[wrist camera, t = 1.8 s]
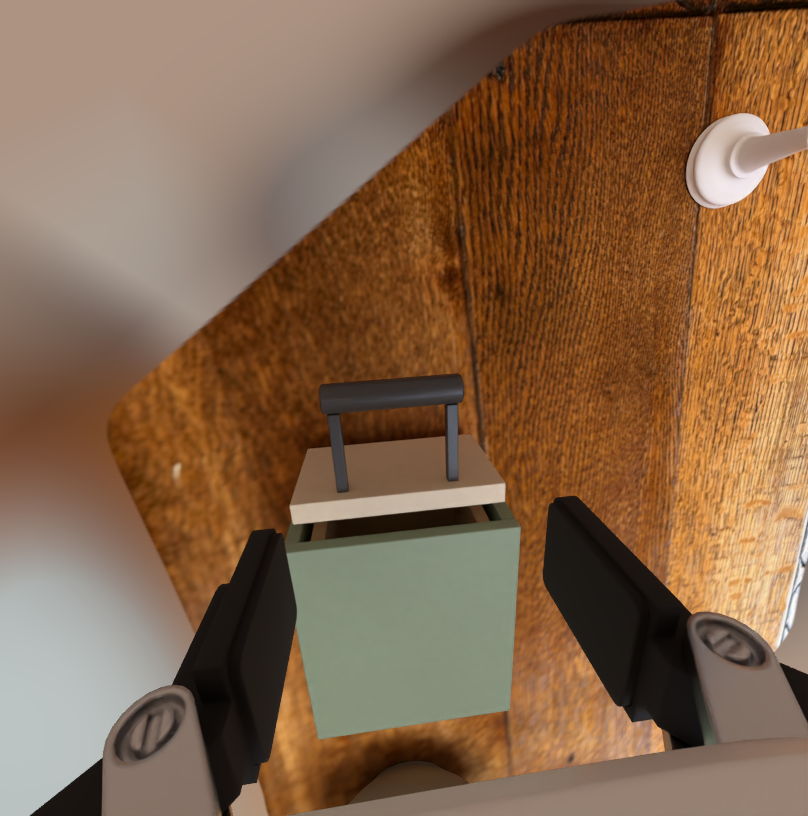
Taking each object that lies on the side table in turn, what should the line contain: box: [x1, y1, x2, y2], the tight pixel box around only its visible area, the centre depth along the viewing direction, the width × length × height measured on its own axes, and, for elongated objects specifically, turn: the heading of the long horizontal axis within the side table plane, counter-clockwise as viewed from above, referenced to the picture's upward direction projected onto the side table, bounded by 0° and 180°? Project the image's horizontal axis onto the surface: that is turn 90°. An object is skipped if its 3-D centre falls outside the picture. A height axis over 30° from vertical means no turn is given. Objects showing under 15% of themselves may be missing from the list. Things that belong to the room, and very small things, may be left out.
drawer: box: [290, 373, 505, 541], centre depth 24 cm, size 19×11×7 cm, turn 3°
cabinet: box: [285, 502, 521, 739], centre depth 26 cm, size 15×13×9 cm
